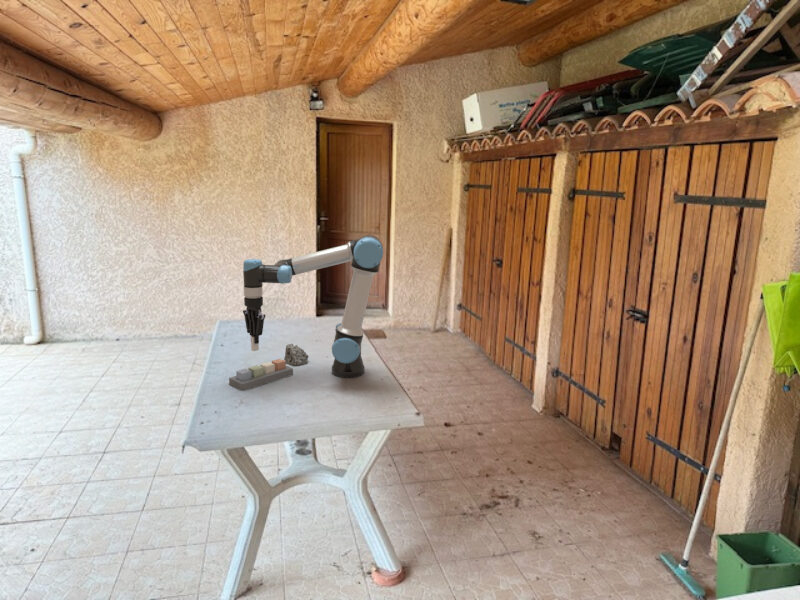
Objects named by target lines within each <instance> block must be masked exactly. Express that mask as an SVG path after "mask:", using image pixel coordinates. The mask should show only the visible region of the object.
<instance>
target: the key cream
mask: <svg viewBox="0 0 800 600" xmlns="http://www.w3.org/2000/svg"><path fill="white" fill-rule="evenodd" d="M259 366H260V367H263V373H265V374H269V373H272V372H275V364H273V363H272V362H270V361H267V362H263V363H260V364H259Z"/></svg>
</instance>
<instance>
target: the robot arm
mask: <svg viewBox="0 0 800 600" xmlns="http://www.w3.org/2000/svg"><path fill="white" fill-rule="evenodd" d="M383 256H384V247H383V243H382V242H381V240H380V239H379V238H378V237H377V236H374V235H371V234H367V235H364V236H361V237H359V238H356V239H353V240H350V241H348V242H347V243H345V244H343V245H339V246H334V247H331V248H327V249H326V248H325V249H323V250H319V251H316V252H311V253H307V254H302V255H299V256H295V257H291V258H287V259H281V260H278V261H277V262H275V264H264V263H263V261H262V260H261V259H259V258H248V259H244V260H243V264H242V265H243V267H242V269H243V270H242V273H243V296H244V298H243V300H244V306H245V308H246V309H244V310H243V309H242V313H243V317H244V321H245V327H246V328H245V329H246V332H247V334H249V336H250V346H251V347H250V349H251V351H252V352H256V351H259V350H260V346H259V345H260V336H262V335H263V331H264V324H265V319H266V314H263V313H262V311H263V310H262V306H263V305H264V297H263V295H264V294H263V293H264V292H263V284H282V285H284V284H290V283H292V279H293V276H297V275H300V274H304V273H308V272H312V271H316V270H319V269H320V270H321V269H324V268H329V267H333V266H336V265H340V264H344V263H348V262H351V265H350V267H351V269H352V270H353V273H352V277H351V281H350V285H349V289H348V292H347V298H346V303H345V307H344V312H343V316H342V321H341V323H337V324H335V335H334V339H333V344H332V346H331V354H332V355H333V357H334V360H333V364H332V366H331V373H332V375H334V376H336V377H338V378H339V377H340V378H347V379H348V378H357V377H360V376H362V375H364V374H365V371H366V369H365V365H364V361H363V358H362V342H363V337H364V334H365V333H364V331H363V330H362V327H363V323H364V318H365V314H366V310H367V305H368V303H369V302H368V300H369V297H370V294H371V293H370V292H371V288H372V284H373V280H374V276H375V275H377V274H379V270H380V266H381V262H382V260H383Z"/></svg>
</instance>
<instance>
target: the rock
mask: <svg viewBox="0 0 800 600" xmlns="http://www.w3.org/2000/svg"><path fill="white" fill-rule="evenodd" d="M308 358H309V354H307V352H306V351H305V349H303V348H301V347H299V346H298V344H296V345H294V343H290V344H286V346H285V355H284V358H283V360H284V361H286V364H288V365H291V366H299V365H305V364H308Z"/></svg>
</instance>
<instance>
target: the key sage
mask: <svg viewBox="0 0 800 600" xmlns="http://www.w3.org/2000/svg"><path fill="white" fill-rule="evenodd" d="M248 370H250V371H251V377H254V378H256V377H259V376H262V375H263V367H260V365H258V364H257V365H253V366H249V367H248Z"/></svg>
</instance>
